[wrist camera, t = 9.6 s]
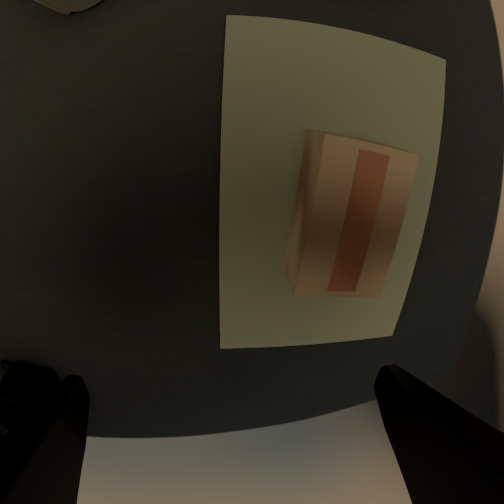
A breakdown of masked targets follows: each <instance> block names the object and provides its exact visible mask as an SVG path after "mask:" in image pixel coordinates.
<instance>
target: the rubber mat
mask: <svg viewBox="0 0 504 504" xmlns="http://www.w3.org/2000/svg"><path fill="white" fill-rule="evenodd" d="M445 69H446V60H444V59H442V58H439V57H437V56H434V55H432V54H429V53H426V52H423V51H421V50H418V49H415V48H412V47H409V46H406V45H403V44H400V43H396V42H393V41H390V40H386V39H383V38H379V37H375V36H372V35H368V34H364V33H360V32H355V31H351V30H346V29H342V28H337V27H332V26H327V25H321V24H315V23H309V22H302V21H295V20H287V19H278V18H268V17H255V16H237V15H227V17H226V32H225V50H224V70H223V92H222V119H221V153H220V210H219V299H220V349H221V348H257V347H278V346H294V345H308V344H320V343H332V342H342V341H352V340H361V339H369V338H377V337H385V336H392V334H393V331H394V329H395V326H396V323H397V320H398V317H399V314H400V311H401V309H402V306H403V302H404V299H405V296H406V293H407V290H408V287H409V283H410V280H411V277H412V273H413V270H414V266H415V263H416V259H417V256H418V252H419V248H420V244H421V240H422V236H423V232H424V228H425V223H426V219H427V214H428V210H429V205H430V200H431V195H432V189H433V184H434V178H435V172H436V166H437V159H438V152H439V145H440V137H441V128H442V118H443V107H444V92H445ZM306 128H308V129H313V130H319V131H325V132H330V133H335V134H340V135H345V136H350V137H355V138H360V139H364V140H368V141H373V142H377V143H381V144H385V145H389V146H393V147H396V148H399V149H402V150H405V151H409V152H412V153H415V154H418V155H419V157H418V162H417V167H416V171H415V176H414V180H413V185H412V189H411V193H410V197H409V201H408V205H407V209H406V213H405V217H404V220H403V224H402V228H401V231H400V235H399V238H398V241H397V245H396V248H395V251H394V255H393V258H392V261H391V264H390V267H389V270H388V273H387V276H386V279H385V282H384V285H383V288H382V291H381V294H380V297H379V298H352V297H304V296H294V295H293V292H292V289H291V287H290V284H289V282H288V279H287V277H286V274H285V272H284V269H283V265H284V260H285V254H286V249H287V243H288V238H289V232H290V226H291V221H292V215H293V209H294V203H295V197H296V191H297V185H298V179H299V173H300V167H301V160H302V154H303V148H304V141H305V135H306Z"/></svg>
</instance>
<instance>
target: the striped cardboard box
mask: <svg viewBox="0 0 504 504" xmlns="http://www.w3.org/2000/svg"><path fill="white" fill-rule="evenodd" d="M418 157H419V155H418V154H415V153H412V152H409V151H405V150H402V149H399V148H396V147H393V146H389V145H385V144H381V143H377V142H373V141H368V140H364V139H360V138H355V137H350V136H345V135H340V134H335V133H330V132H325V131H319V130H313V129H308V128H306V135H305V141H304V148H303V154H302V160H301V167H300V173H299V179H298V185H297V191H296V197H295V203H294V209H293V215H292V221H291V226H290V232H289V238H288V243H287V249H286V254H285V260H284V265H283V269H284V272H285V274H286V277H287V279H288V282H289V284H290V287H291V289H292V292H293V295H294V296H304V297H352V298H379V297H380V294H381V291H382V288H383V285H384V282H385V279H386V276H387V273H388V270H389V267H390V264H391V261H392V258H393V255H394V251H395V248H396V245H397V241H398V238H399V235H400V231H401V228H402V224H403V220H404V217H405V213H406V209H407V205H408V201H409V197H410V193H411V189H412V185H413V180H414V176H415V171H416V167H417V162H418Z"/></svg>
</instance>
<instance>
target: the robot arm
mask: <svg viewBox="0 0 504 504" xmlns="http://www.w3.org/2000/svg"><path fill="white" fill-rule="evenodd" d="M0 368H1V369H2V371H3V373H4V376H3V378H2V380H1V382H0V504H77V496H78V488H79V482H80V476H81V468H82V463H83V458H84V452H85V446H86V437H87V425H88V414H89V404H90V396H89V392H88V390H87V388H86V385H85V383H84V380H83V378H82V377H81V376H78V375H68V376H66V377H65V378H64V379H63V380H62V381H61V382H59V380H58V378H57V376H56V374H55V372H54V371H52V370H51V369H46V368H40V367H34V366H28V365H22V364H17V363H12V362H7V361H1V362H0ZM374 390H375V394H376V397H377V401H378V405H379V408H380V412H381V416H382V419H383V423H384V426H385V430H386V432H387V435H388V438H389V440H390V443H391V446H392V448H393V451H394V453H395V456H396V459H397V462H398V464H399V467H400V470H401V473H402V475H403V478H404V481H405V483H406V487H407V489H408V492H409V495H410V498H411V501H412V504H504V433H503V432H501V431H499V430H497V429H496V428H494V427H492V426H490V425H489V424H487V423H486V422H484V421H482V420H481V419H479V418H478V417H475V416H474V415H473V414H471V413H470V412H468V411H467V410H465V409H464V408H462V407H460V406H459V405H457V404H456V403H454V402H453V401H451V400H450V399H448V398H447V397H445V396H444V395H442V394H440V393H439V392H437V391H436V390H434V389H433V388H431V387H430V386H428V385H427V384H425V383H424V382H422V381H420V380H419V379H417V378H416V377H414V376H413V375H411V374H410V373H408V372H407V371H405V370H404V369H402V368H401V367H399V366H398V365H396V364H393V363H392V364H386V365H383V366H382V367H381V368H380V371H379V373H378V375H377V378H376V380H375V383H374Z"/></svg>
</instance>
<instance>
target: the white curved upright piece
mask: <svg viewBox="0 0 504 504" xmlns="http://www.w3.org/2000/svg"><path fill="white" fill-rule="evenodd" d="M34 1H36V2H38V3H40V4H42V5H44V6H47V7H49V8H51V9H53V10H55V11H57V12H59V13H62V14H69V13H70V12H72V11H74V12H78V11H82V10H85V9H88V8H90V7H92V6H94V5H96V4H97V3H99V2H100V1H101V0H34Z"/></svg>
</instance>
